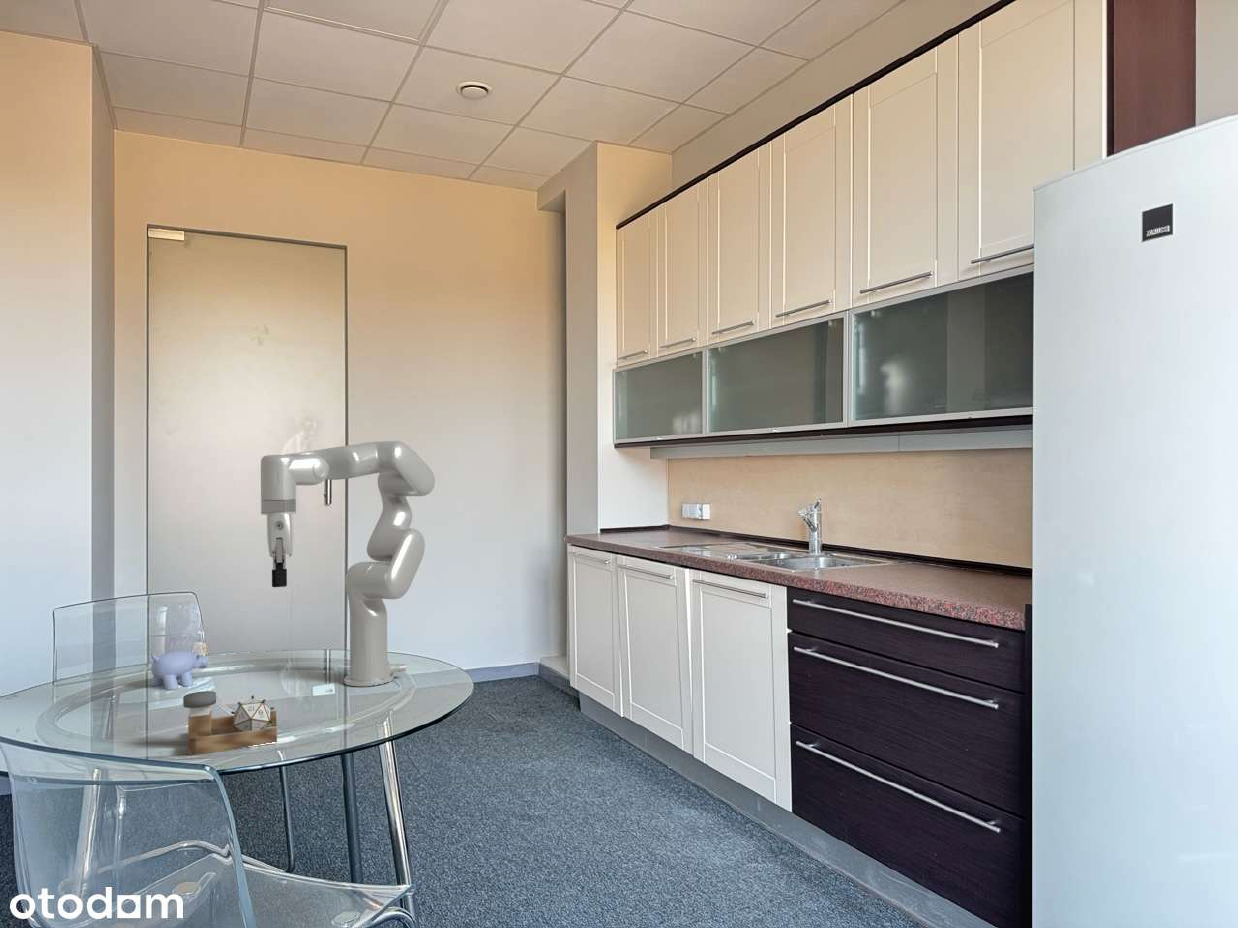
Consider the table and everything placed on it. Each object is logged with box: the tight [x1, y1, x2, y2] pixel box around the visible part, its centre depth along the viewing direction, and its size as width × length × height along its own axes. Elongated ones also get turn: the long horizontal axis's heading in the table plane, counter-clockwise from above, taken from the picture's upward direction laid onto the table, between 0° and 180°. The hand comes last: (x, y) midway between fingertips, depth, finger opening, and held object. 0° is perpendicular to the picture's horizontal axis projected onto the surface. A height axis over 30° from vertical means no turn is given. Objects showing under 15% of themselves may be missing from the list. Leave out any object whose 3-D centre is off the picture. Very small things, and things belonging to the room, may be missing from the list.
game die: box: [229, 694, 275, 732], centre depth 173 cm, size 9×8×10 cm
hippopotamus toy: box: [150, 650, 209, 691], centre depth 218 cm, size 11×15×10 cm
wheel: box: [182, 690, 217, 717], centre depth 169 cm, size 6×6×4 cm
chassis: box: [187, 709, 278, 756], centre depth 171 cm, size 16×14×8 cm
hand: (279, 586), depth 191 cm, fingers closed
